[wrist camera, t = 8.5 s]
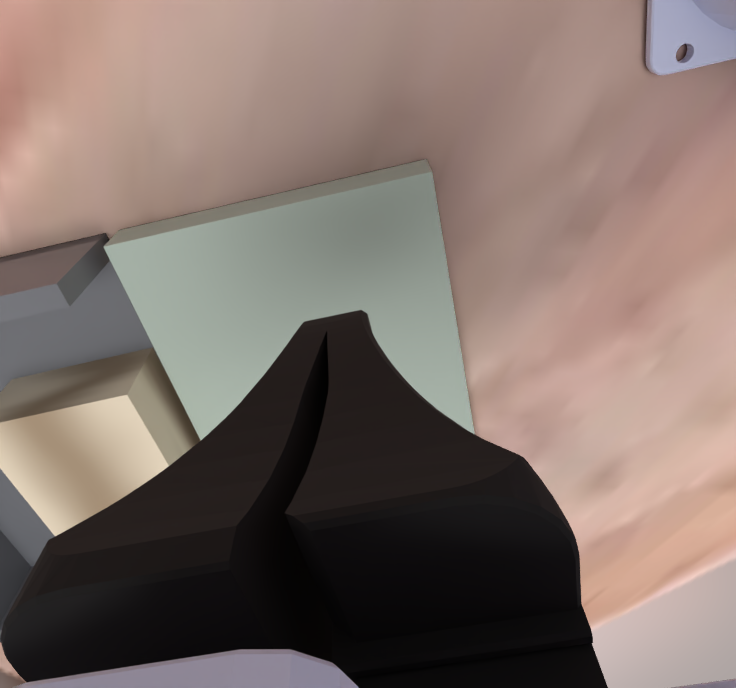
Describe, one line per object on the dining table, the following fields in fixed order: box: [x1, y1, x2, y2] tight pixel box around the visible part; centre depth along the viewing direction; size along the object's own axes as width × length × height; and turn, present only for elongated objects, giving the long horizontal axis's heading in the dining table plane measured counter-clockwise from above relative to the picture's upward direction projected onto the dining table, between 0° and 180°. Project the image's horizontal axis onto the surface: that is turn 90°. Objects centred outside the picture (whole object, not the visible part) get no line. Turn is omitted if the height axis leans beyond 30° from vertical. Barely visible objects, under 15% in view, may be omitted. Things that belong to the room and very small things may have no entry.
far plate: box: [104, 159, 475, 440], centre depth 23 cm, size 11×16×2 cm
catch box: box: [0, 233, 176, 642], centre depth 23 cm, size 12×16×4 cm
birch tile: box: [0, 347, 201, 536], centre depth 23 cm, size 6×6×3 cm
